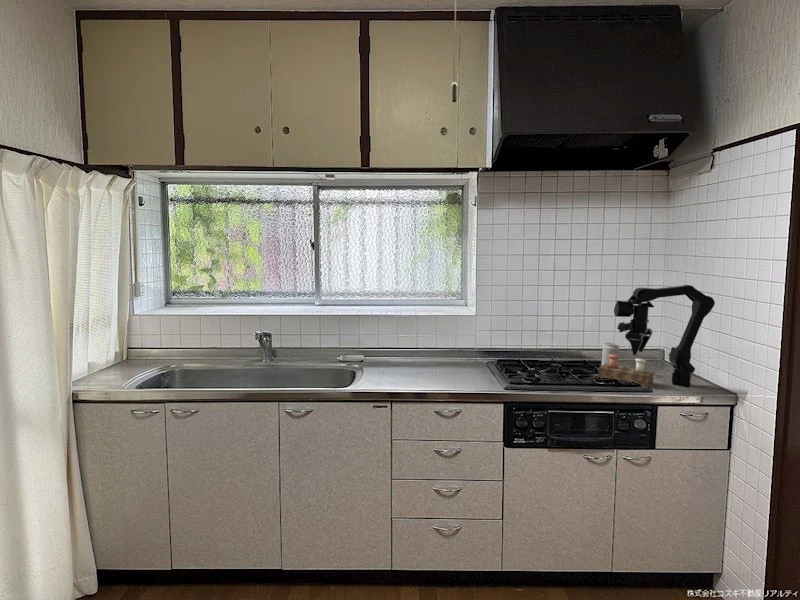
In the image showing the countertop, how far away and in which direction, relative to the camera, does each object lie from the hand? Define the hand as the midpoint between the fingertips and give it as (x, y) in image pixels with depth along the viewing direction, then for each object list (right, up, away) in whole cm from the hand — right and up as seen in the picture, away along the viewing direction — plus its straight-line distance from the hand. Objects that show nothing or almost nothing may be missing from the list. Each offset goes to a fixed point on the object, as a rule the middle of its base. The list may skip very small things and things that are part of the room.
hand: (637, 353), depth 221 cm
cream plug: (0, -8, -2) cm, 8 cm away
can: (-2, -10, +25) cm, 27 cm away
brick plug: (-9, -7, +5) cm, 12 cm away
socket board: (-4, -12, +2) cm, 13 cm away
